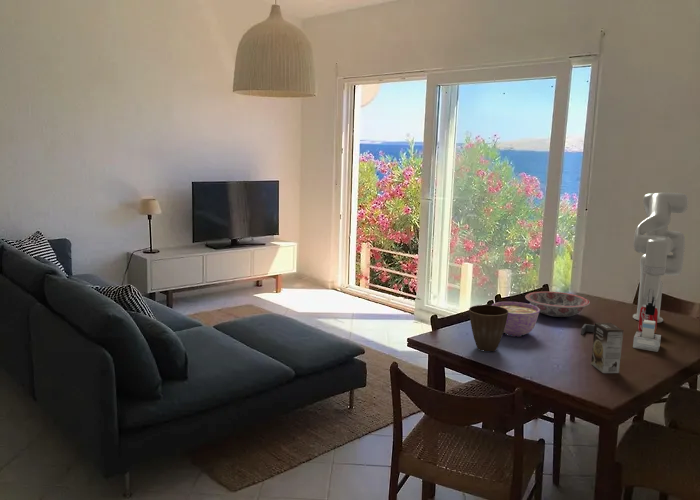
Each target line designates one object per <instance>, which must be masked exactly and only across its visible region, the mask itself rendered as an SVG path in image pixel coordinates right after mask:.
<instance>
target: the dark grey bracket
mask: <svg viewBox="0 0 700 500" xmlns="http://www.w3.org/2000/svg"><path fill="white" fill-rule="evenodd" d="M594 326H595V324H587V323H584V324H583V325H582V327H581V328H580V329H581V331H580V332H581V333H580V335H582V336H584V334H585V333H586V332H589V333H594Z"/></svg>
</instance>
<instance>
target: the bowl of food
mask: <svg viewBox="0 0 700 500" xmlns="http://www.w3.org/2000/svg"><path fill="white" fill-rule="evenodd" d="M491 305H492V306H498V307H502V308H505V309H507V310H508V316H507V321H506V325H505V329H504V332H503V334H504V333H506V334H508V335H507V336H509V335H512V336H511V337H515V336H517V337H522V336H521V335H523V336H524V335H527V334H529V333H531V332H532V331H533V329H534V328H535V327H536V324H537V320H538V318H539V315H540V309H539V308H538V307H536V306H534V305H531V303H526V302H520V301H519V302H518V301H498V302H494V303H492V304H491ZM506 334H505V335H506Z"/></svg>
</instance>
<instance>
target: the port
mask: <svg viewBox="0 0 700 500" xmlns="http://www.w3.org/2000/svg"><path fill="white" fill-rule="evenodd" d="M661 339H662V335H661V334H656V333H654V339H651V338H645V337H642V332H640V331H639V330H638V331H637V330H636V332H635V334H634V336H633V340H632V341H633V343H632V348H634V349H639V350H644V351H651V352H656V353H657V352H659V350H660V346H661Z"/></svg>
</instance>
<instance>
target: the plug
mask: <svg viewBox="0 0 700 500" xmlns="http://www.w3.org/2000/svg"><path fill="white" fill-rule="evenodd" d="M654 331H655V321H650V320H644V321H643V329H642V337H645V338H651V339H654V334H655V333H654Z"/></svg>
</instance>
